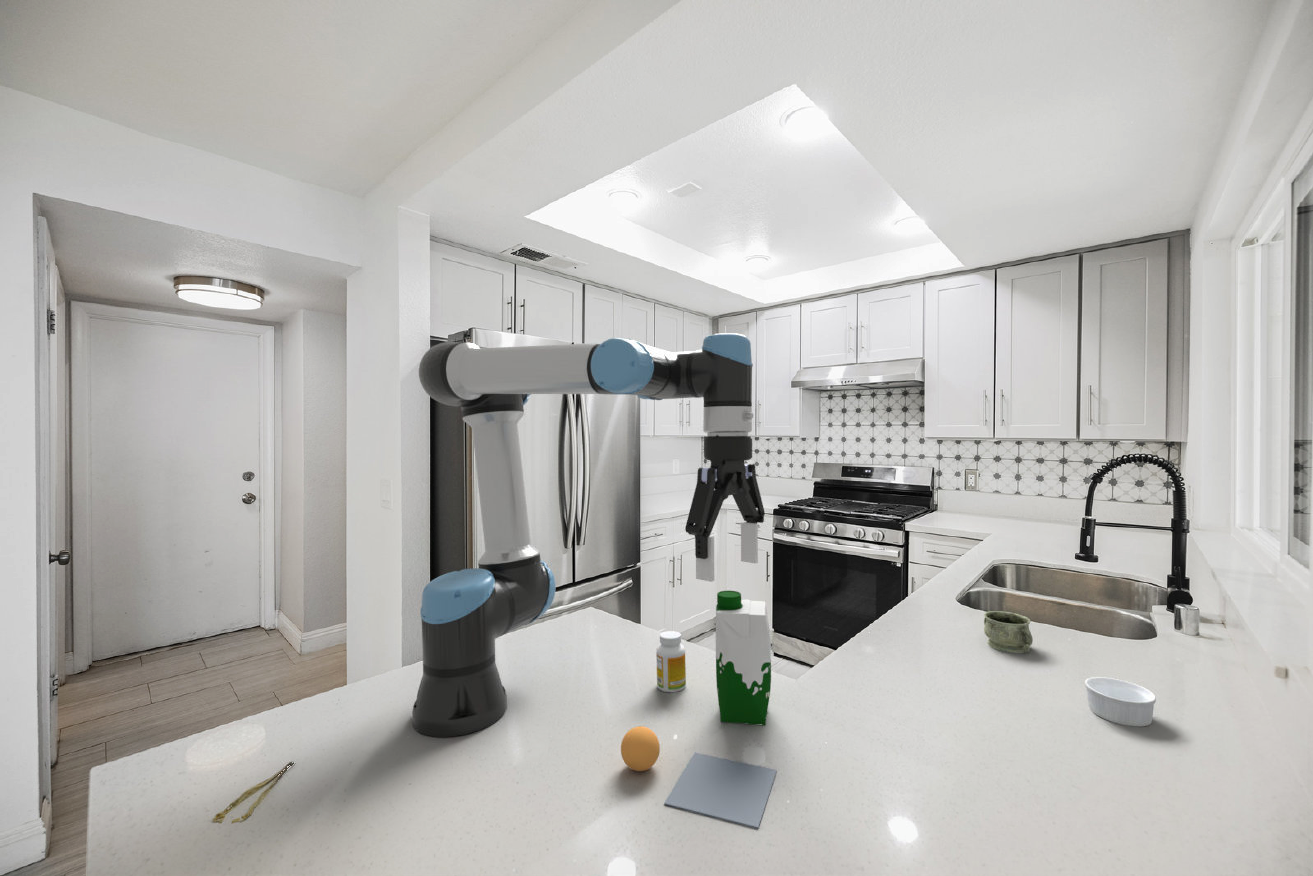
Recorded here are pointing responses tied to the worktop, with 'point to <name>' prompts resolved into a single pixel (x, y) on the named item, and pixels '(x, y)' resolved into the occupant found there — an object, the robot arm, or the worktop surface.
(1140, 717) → the ramekin
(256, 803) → the tongs
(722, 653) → the milk carton
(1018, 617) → the vessel
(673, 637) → the supplement bottle
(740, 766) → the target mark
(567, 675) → the worktop surface
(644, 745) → the ball
